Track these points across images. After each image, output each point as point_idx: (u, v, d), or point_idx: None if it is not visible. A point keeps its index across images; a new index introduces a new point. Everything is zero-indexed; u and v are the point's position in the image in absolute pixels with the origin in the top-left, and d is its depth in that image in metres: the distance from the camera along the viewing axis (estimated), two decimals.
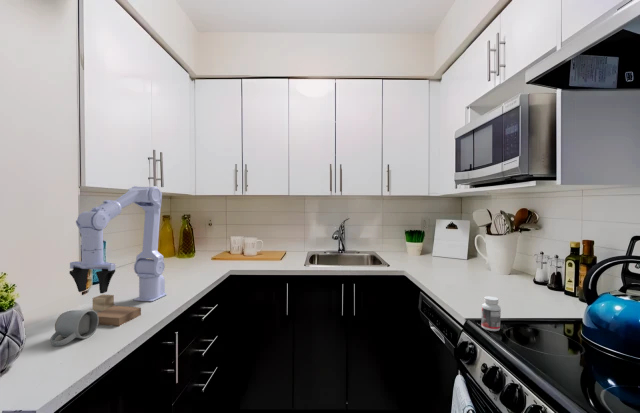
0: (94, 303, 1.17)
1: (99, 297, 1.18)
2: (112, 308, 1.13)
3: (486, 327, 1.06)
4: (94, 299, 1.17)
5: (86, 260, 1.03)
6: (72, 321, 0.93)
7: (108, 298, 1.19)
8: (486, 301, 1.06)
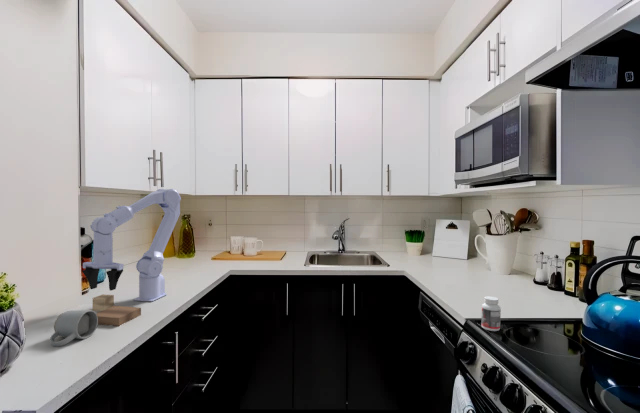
0: (94, 303, 1.17)
1: (99, 297, 1.18)
2: (112, 308, 1.13)
3: (486, 327, 1.06)
4: (94, 299, 1.17)
5: (97, 260, 1.16)
6: (72, 321, 0.93)
7: (108, 298, 1.19)
8: (486, 301, 1.06)
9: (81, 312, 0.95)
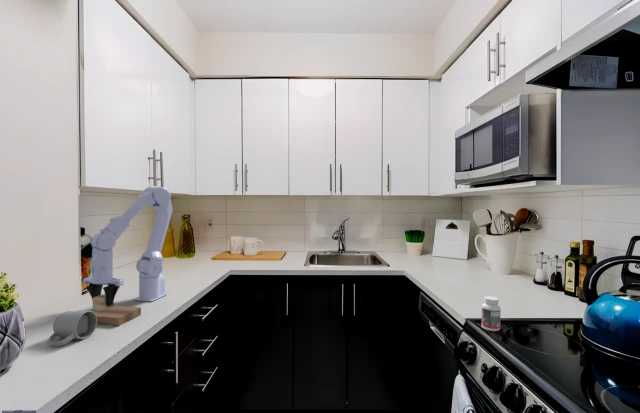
0: (94, 303, 1.17)
1: (99, 297, 1.18)
2: (112, 308, 1.13)
3: (486, 327, 1.06)
4: (94, 299, 1.17)
5: (97, 277, 1.16)
6: (71, 321, 0.92)
7: None
8: (486, 301, 1.06)
9: (80, 312, 0.94)
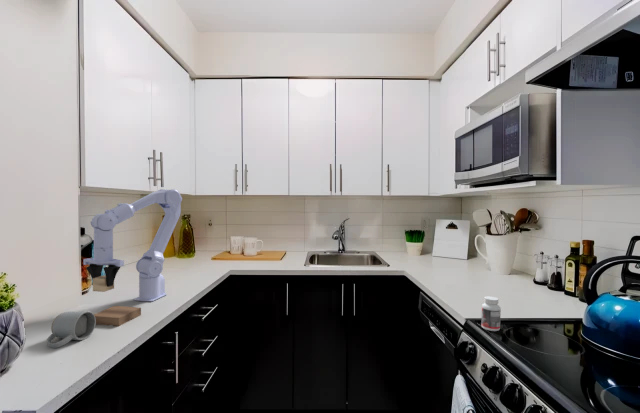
0: (94, 283, 1.17)
1: (99, 277, 1.18)
2: (112, 308, 1.13)
3: (486, 327, 1.06)
4: (94, 279, 1.17)
5: (98, 257, 1.16)
6: (69, 322, 0.92)
7: None
8: (486, 301, 1.06)
9: (78, 313, 0.94)
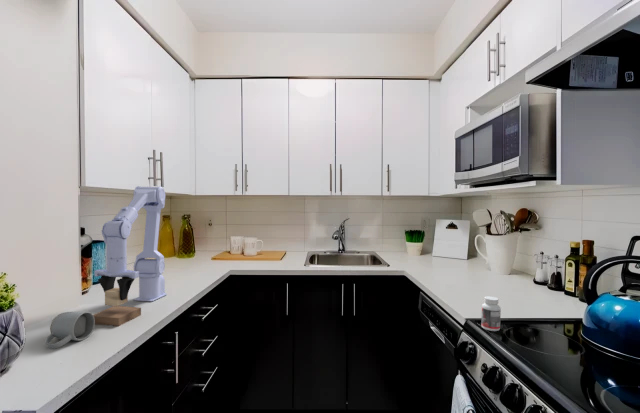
0: (107, 297, 1.07)
1: (112, 290, 1.08)
2: (112, 308, 1.13)
3: (486, 327, 1.06)
4: (107, 292, 1.07)
5: (111, 268, 1.06)
6: (68, 323, 0.91)
7: None
8: (486, 301, 1.06)
9: (77, 313, 0.94)
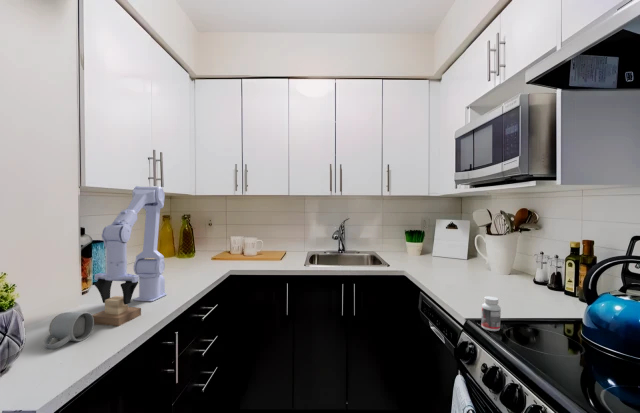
0: (107, 305, 1.07)
1: (112, 299, 1.08)
2: None
3: (486, 327, 1.06)
4: (107, 301, 1.07)
5: (111, 272, 1.06)
6: (67, 323, 0.91)
7: (122, 300, 1.09)
8: (486, 301, 1.06)
9: (77, 314, 0.93)
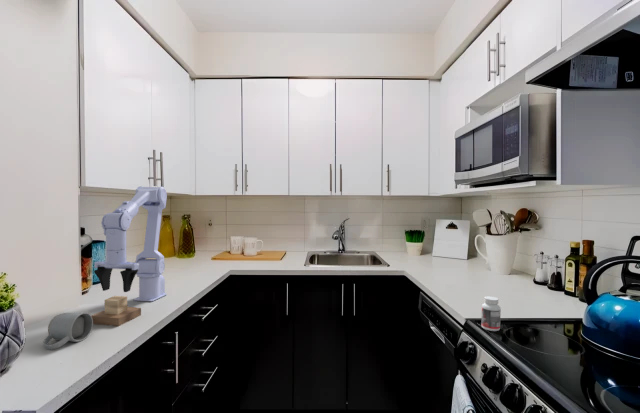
0: (106, 305, 1.07)
1: (112, 299, 1.08)
2: None
3: (486, 327, 1.06)
4: (106, 301, 1.07)
5: (110, 260, 1.07)
6: (66, 324, 0.91)
7: (122, 300, 1.09)
8: (486, 301, 1.06)
9: (75, 314, 0.93)
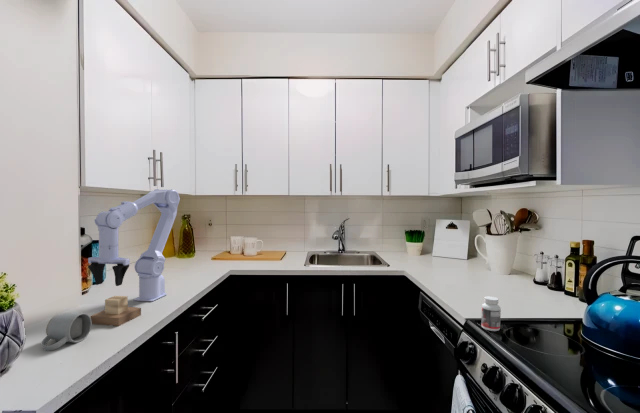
0: (107, 305, 1.08)
1: (112, 299, 1.08)
2: None
3: (486, 327, 1.06)
4: (107, 301, 1.08)
5: (103, 255, 1.14)
6: (64, 324, 0.90)
7: (122, 300, 1.09)
8: (486, 301, 1.06)
9: (74, 315, 0.92)
